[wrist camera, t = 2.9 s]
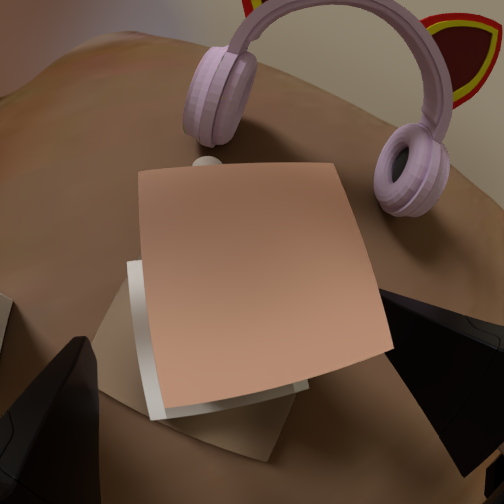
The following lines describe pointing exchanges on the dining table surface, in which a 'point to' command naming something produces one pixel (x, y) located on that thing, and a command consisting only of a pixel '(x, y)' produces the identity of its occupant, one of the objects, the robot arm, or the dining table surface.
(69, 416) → the robot arm
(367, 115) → the dining table surface
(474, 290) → the dining table surface
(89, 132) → the dining table surface
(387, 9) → the headphones
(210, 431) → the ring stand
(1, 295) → the milk carton
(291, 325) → the peg
